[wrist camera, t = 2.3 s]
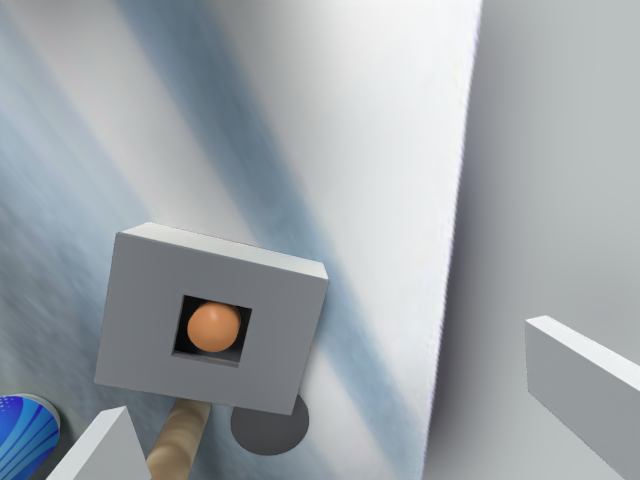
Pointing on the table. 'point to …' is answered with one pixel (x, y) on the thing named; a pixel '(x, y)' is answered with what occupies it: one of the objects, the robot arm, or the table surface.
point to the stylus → (178, 440)
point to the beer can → (26, 434)
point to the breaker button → (214, 326)
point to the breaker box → (217, 285)
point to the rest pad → (270, 429)
